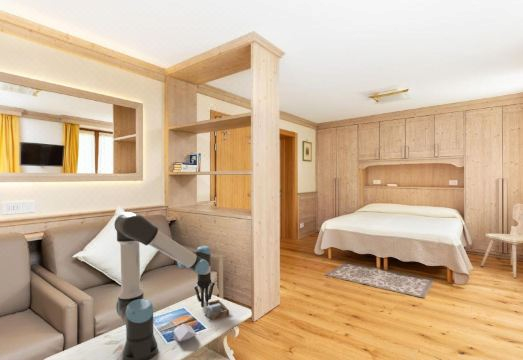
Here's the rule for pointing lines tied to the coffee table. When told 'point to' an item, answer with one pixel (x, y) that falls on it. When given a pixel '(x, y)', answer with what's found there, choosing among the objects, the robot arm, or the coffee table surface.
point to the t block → (212, 309)
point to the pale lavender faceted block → (183, 333)
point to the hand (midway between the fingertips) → (204, 311)
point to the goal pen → (222, 313)
